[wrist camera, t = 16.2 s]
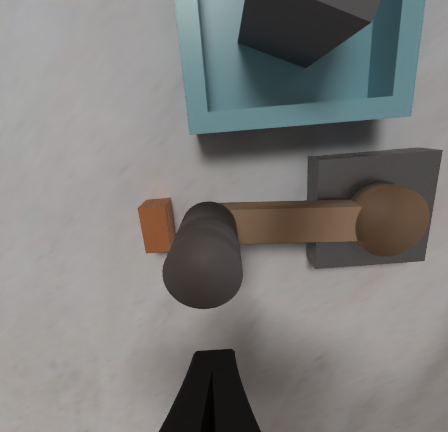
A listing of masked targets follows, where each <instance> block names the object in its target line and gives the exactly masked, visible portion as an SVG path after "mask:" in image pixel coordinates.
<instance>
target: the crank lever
mask: <svg viewBox="0 0 448 432" xmlns="http://www.w3.org/2000/svg"><path fill="white" fill-rule="evenodd" d="M428 224H429V208H428V205H427V203H426V201H425V200H424V198H423V197H422V196H421V195H420V194H418V193H417V192H415V191H413V190H411V189H408V188H405V187H402V186H399V185H396V184H393V183H388V182H378V183H373V184H370V185H368V186H366V187H364V188H362V189H361V190H359V191H358V192H357V193H356V194H355V195H354V196H353V197H352V198H351V199H350V200H316V201H275V202H235V203H216V202H201V203H198V204H196V205H194V206H193V207H191V208H190V209H189V210H188V211H187V212H186V214H185V216H184V218H183V220H182V222H181V225H180V227H179V229H178V232H177V234H176V236H175V239H174V241H173V243H172V246H171V248H170V250H169V252H168V255H167V257H166V259H165V262H164V265H163V281H164V284H165V286H166V288H167V290H168V291H169V293H170V294H171V295H172V296H173V297H174V298H175V299H176V300H177V301H179V302H180V303H182V304H184V305H186V306H189V307H192V308H198V309H210V308H215V307H218V306H221V305H223V304H225V303H226V302H228V301H229V300H230V299H232V298H233V297H234V296H235V294H236V293H237V292H238V290H239V288H240V286H241V283H242V279H243V270H242V262H241V255H240V248H239V244H262V243H304V242H345V241H355V242H356V243H358V244H359V245H360V246H361V247H362V248H363V249H365V250H366V251H367V252H369V253H371V254H373V255H376V256H382V257H388V256H395V255H398V254H401V253H403V252H405V251H407V250H409V249H410V248H412V247H413V246H414V245H415V244H417V243H418V242H419V240H420V239H421V238H422V237H423V235H424V233H425V232H426V229H427V227H428Z"/></svg>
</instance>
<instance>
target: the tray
mask: <svg viewBox="0 0 448 432" xmlns="http://www.w3.org/2000/svg"><path fill="white" fill-rule="evenodd" d="M244 1H245V0H174V2H175V10H176V19H177V28H178V37H179V45H180V54H181V63H182V72H183V80H184V89H185V98H186V107H187V116H188V124H189V133H190V135H193V134H204V133H216V132H228V131H240V130H252V129H264V128H276V127H288V126H300V125H312V124H324V123H336V122H348V121H360V120H372V119H384V118H396V117H408V116H411V112H412V104H413V96H414V88H415V80H416V72H417V64H418V56H419V48H420V40H421V31H422V23H423V15H424V7H425V0H381V1H380V4H379V6H378V8H377V11H376V13H375V16H374V18H373V20H372V23H370V24H369V25H367V26H366V27H364V28H363V29H362V30H360V31H359V32H357V33H356V34H354V35H353V36H352V37H350V38H349V39H347V40H346V41H344V42H343V43H342V44H340V45H339V46H337V47H336V48H334V49H333V50H332V51H330V52H329V53H327V54H326V55H324V56H323V57H322V58H320V59H319V60H317V61H316V62H314V63H313V64H312V65H310V66H309V67H307V68H303V67H301V66H298V65H295V64H293V63H290V62H288V61H285V60H282V59H280V58H277V57H274V56H272V55H269V54H266V53H264V52H261V51H258V50H256V49H253V48H250V47H248V46H245V45H242V44H240V43H237V42H238V36H239V30H240V24H241V19H242V13H243V7H244Z"/></svg>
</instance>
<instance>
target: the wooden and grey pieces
mask: <svg viewBox="0 0 448 432" xmlns="http://www.w3.org/2000/svg"><path fill="white" fill-rule="evenodd" d="M441 157H442V150H437V149H427V148H407V149H395V150H383V151H370V152H358V153H346V154H333V155H321V156H309V157H308V200H307V201H316V200H350V199H351V198H352V197H353V196H354V195H355V194H356V193H357V192H358V191H359V190H361V189H362V188H364V187H366V186H368V185H370V184H373V183H378V182H388V183H393V184H396V185H399V186H402V187H405V188H408V189H411V190H413V191H415V192H417V193H418V194H420V195H421V196H422V197H423V198H424V200H425V201H426V203H427V205H428V208H429V224H428V227H427V229H426V232H425V233H424V235H423V237H422V238H421V239H420V240H419V242H418V243H417V244H415V245H414V246H413V247H412V248H410V249H409V250H407V251H405V252H403V253H401V254H398V255H395V256H388V257H382V256H376V255H373V254H371V253H369V252H367V251H366V250H365V249H363V248H362V247H361V246H360V245H359V244H358V243H356V242H355V241H345V242H307V256H308V258H309V259H310V261H311V263H312V264H313V266H314V267H315V269H320V268H334V267H348V266H361V265H375V264H389V263H403V262H416V261H424V260H425V254H426V248H427V242H428V236H429V230H430V224H431V218H432V211H433V205H434V199H435V193H436V187H437V181H438V175H439V169H440V163H441ZM138 212H139V218H140V223H141V229H142V234H143V239H144V245H145V250H146V253H157V252H169V250H170V248H171V246H172V243H173V241H174V239H175V236H176V235H175V228H174V221H173V214H172V207H171V200H170V198H164V199H151V200H146V201H145V202H144V203H143V204H142V205H141V206H140V207H139V208H138Z"/></svg>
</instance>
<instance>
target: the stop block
mask: <svg viewBox="0 0 448 432" xmlns="http://www.w3.org/2000/svg"><path fill="white" fill-rule="evenodd" d="M380 1H381V0H245V1H244V7H243V13H242V19H241V24H240V30H239V36H238V42H237V43H240V44H242V45H245V46H248V47H250V48H253V49H256V50H258V51H261V52H264V53H266V54H269V55H272V56H274V57H277V58H280V59H282V60H285V61H288V62H290V63H293V64H295V65H298V66H301V67H303V68H307V67H309V66H310V65H312V64H313V63H314V62H316V61H317V60H319V59H320V58H322V57H323V56H324V55H326V54H327V53H329V52H330V51H332V50H333V49H334V48H336V47H337V46H339V45H340V44H342V43H343V42H344V41H346V40H347V39H349V38H350V37H352V36H353V35H354V34H356V33H357V32H359V31H360V30H362V29H363V28H364V27H366V26H367V25H369V24H370V23H372V20H373V18H374V16H375V13H376V11H377V8H378V6H379V4H380Z"/></svg>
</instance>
